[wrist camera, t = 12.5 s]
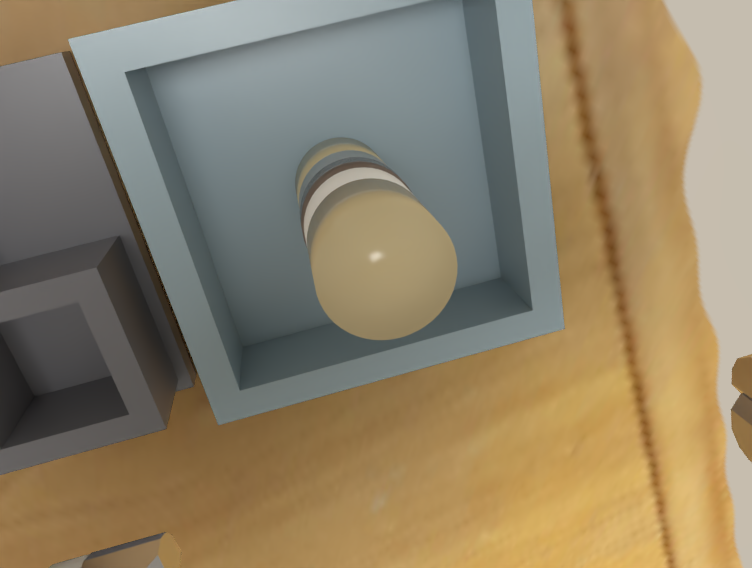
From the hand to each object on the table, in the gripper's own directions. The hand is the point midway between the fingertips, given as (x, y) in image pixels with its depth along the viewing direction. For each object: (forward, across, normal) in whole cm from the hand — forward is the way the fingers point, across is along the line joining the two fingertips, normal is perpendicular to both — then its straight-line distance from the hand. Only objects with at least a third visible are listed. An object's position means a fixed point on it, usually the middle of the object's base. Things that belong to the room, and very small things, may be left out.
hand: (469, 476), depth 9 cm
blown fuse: (+17, -1, 0) cm, 17 cm away
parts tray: (+18, -1, 0) cm, 18 cm away
